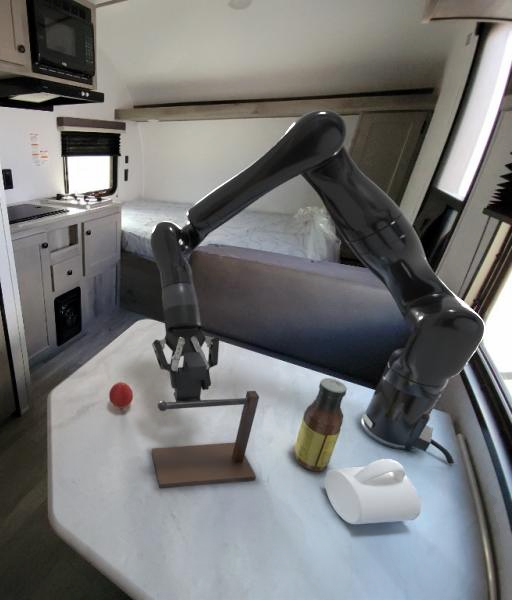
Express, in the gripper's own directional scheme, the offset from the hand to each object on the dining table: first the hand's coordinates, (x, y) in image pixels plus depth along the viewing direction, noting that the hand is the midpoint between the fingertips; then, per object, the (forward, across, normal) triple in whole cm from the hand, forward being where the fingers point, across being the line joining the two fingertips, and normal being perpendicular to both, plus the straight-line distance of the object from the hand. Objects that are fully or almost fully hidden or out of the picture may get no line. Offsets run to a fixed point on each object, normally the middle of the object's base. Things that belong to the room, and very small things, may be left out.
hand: (191, 389), depth 63 cm
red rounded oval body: (+2, -13, +20) cm, 24 cm away
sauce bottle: (+15, +25, +7) cm, 30 cm away
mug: (+22, +28, 0) cm, 36 cm away
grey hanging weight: (+2, 0, +3) cm, 4 cm away
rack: (+15, +2, +7) cm, 17 cm away
